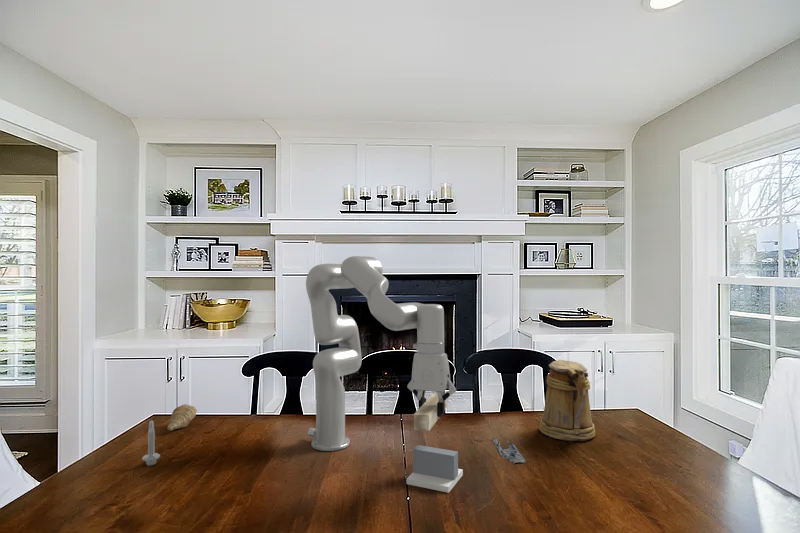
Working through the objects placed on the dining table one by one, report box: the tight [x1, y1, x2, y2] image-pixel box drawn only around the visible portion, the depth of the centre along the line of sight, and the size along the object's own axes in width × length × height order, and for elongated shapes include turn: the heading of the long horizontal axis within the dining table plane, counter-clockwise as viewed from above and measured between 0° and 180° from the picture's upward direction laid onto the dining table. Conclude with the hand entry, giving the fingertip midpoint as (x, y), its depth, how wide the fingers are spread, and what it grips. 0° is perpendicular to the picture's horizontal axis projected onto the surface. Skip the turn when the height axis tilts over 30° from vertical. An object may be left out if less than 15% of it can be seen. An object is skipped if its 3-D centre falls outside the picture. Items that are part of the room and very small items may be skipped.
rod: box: [413, 393, 448, 432], centre depth 132 cm, size 4×22×4 cm, turn 163°
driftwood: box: [491, 437, 527, 465], centre depth 152 cm, size 21×7×2 cm, turn 0°
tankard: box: [538, 359, 596, 442], centre depth 166 cm, size 18×24×25 cm
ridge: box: [406, 444, 464, 493], centre depth 131 cm, size 12×12×8 cm
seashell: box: [166, 403, 198, 432], centre depth 174 cm, size 14×8×8 cm, turn 2°
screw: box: [141, 420, 161, 466], centre depth 142 cm, size 13×5×5 cm
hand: (431, 414), depth 132 cm, fingers closed on rod, 4 cm apart
